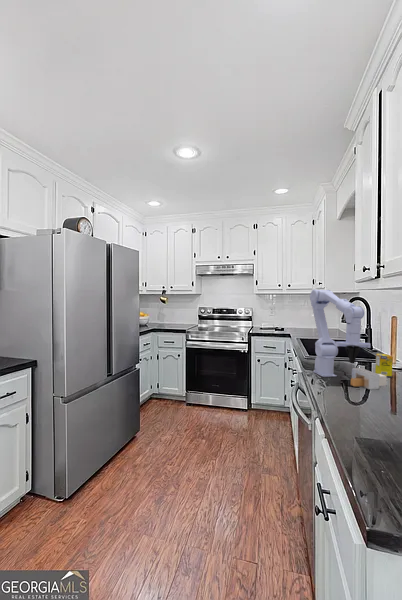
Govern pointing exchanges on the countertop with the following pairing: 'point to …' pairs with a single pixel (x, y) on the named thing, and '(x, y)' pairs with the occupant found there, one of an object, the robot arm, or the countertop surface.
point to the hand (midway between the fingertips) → (351, 362)
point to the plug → (361, 381)
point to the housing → (367, 377)
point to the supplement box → (384, 365)
